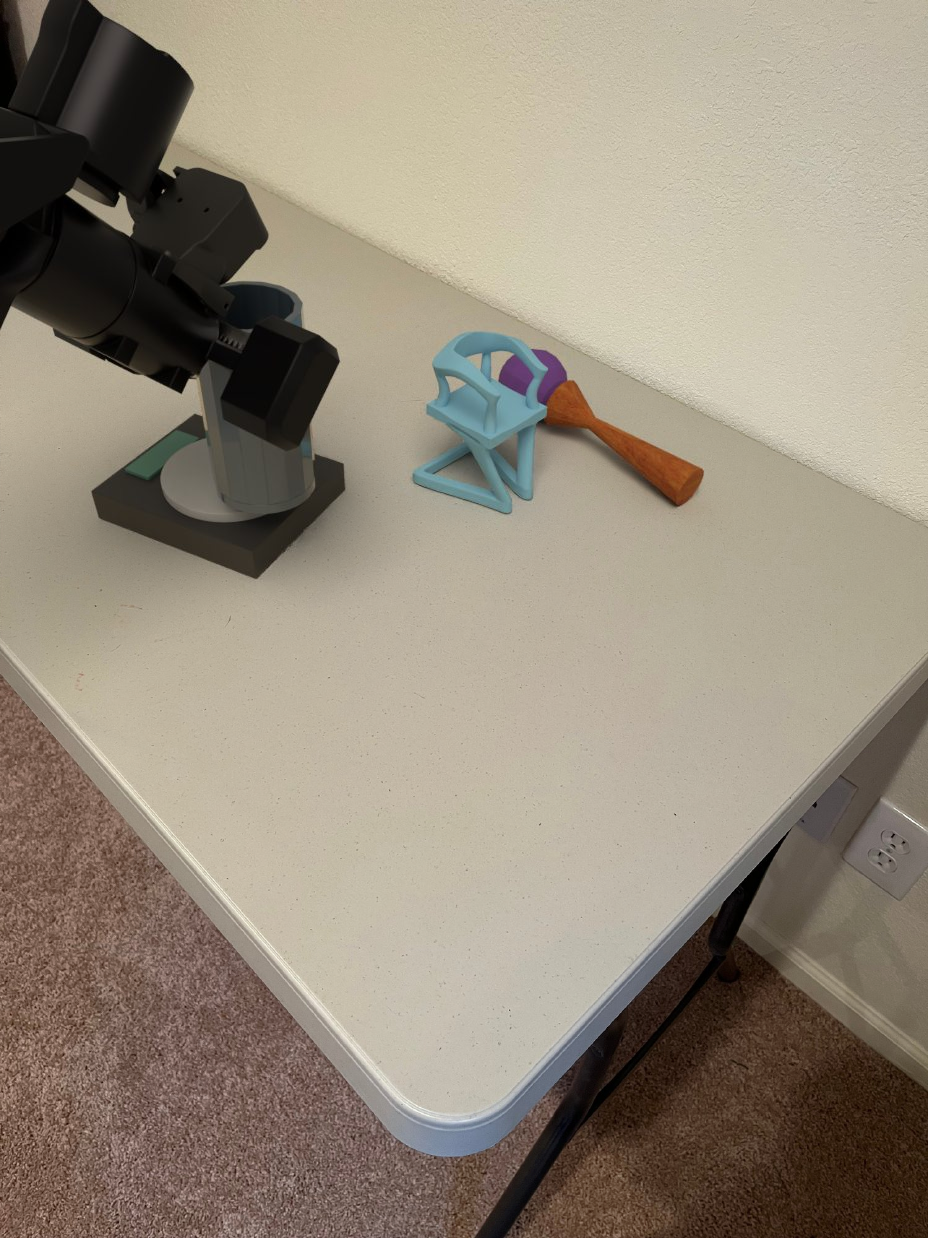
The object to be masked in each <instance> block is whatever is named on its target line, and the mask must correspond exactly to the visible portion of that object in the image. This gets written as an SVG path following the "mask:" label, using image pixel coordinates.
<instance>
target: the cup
mask: <svg viewBox="0 0 928 1238" xmlns="http://www.w3.org/2000/svg"><path fill="white" fill-rule="evenodd" d="M220 286H221V287H222V288H224V289H225V290H226V291H228V292H229V293H230V294H232V295H233V296H235V298H234V300H233V302H232V304H231V306H230V308H229V311H228V313H227V315H226V316H225V317H221V316H218V318H217V319H218V320H220V321H222V322H224V323H227V324H229V325H231V326H233V327H236V328H238V329H240V330H243V331H245V332H247V333H251V332H252V330H253V327H254V325H255V324H256V323H258V322H260V321H262V320H264V319H266V318H268V317H270V316H272V315H273V316H276V317H278V318H280V319H283V320H285V321H287V322H290V323H292V324H294V325H297V326H299V327H302V328H304V329H306V325H305V312H304V303H303V301H302V299H301V298H300V296H299V295H298V294H297V293H296V292H295V291H293V290H291V289H289V288H287V287H285V286H282V285H281V284H280V285H279V284H275V283H270V282H266V281H254V280H237V281H228V282H226V283H225V284H222V285H220ZM217 343H219V344H221V345H223V346H225V347H227V348H230V349H232V350H234V351H236V352H238V353H242V351H241V350H239V349H236V348H235V347H233V346H230V345H228V344H225V343H224V342H221V341H219V340H217ZM231 374H232V372H231V371H229V370H227V369H225V368H223V367H221V366H218V365H216V364H214V363H212V362H210V361H208V362H207V363H206V364H205V366H204V367H203V368H202V370H201V373H200V375H199V376H198V378H196V379H195V380H196V386H197V391H198V399H199V403H200V409H201V416H203V421H204V427H205V433H206V439H207V445H208V451H209V457H210V462H211V468H212V474H213V480H214V482H215V487H216V492H217V494H218V496H219V498H220V499H221V500H222V501H223V502H224V503H225V504H226V505H228V506H229V507H231V508H233V509H236V510H238V511H242V512H246V513H252V514H272V513H278V512H282V511H286V510H289V509H292V508H294V507H296V506H298V505H300V504H301V503H303V502H304V501H305V500H307V499H308V498H309V497H310V495H311V494H312V493H313V490H314V488H315V483H316V480H315V457H314V454H315V448H314V447H315V446H314V432H313V420H312V421H311V423H310V425H309V427H308V429H307V431H306V433H305V435H304V437H303V440H302V442H301V444H300V446H299V447H297V448H295V449H292V450H290V451H288V452H286V451H284V450H282V449H280V448H278V447H276V446H274V445H272V444H270V443H268V442H266V441H264V440H262V439H260V438H258V437H256V436H254V435H252V434H250V433H248V432H246V431H244V430H242V429H240V428H238V427H236V426H234V425H232V424H231V423H229V422H227V421H225V420H223V416H222V410H221V403H220V397H221V395H222V393H223V391H224V389H225V387H226V385H227V382H228V380H229V378H230V376H231Z"/></svg>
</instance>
